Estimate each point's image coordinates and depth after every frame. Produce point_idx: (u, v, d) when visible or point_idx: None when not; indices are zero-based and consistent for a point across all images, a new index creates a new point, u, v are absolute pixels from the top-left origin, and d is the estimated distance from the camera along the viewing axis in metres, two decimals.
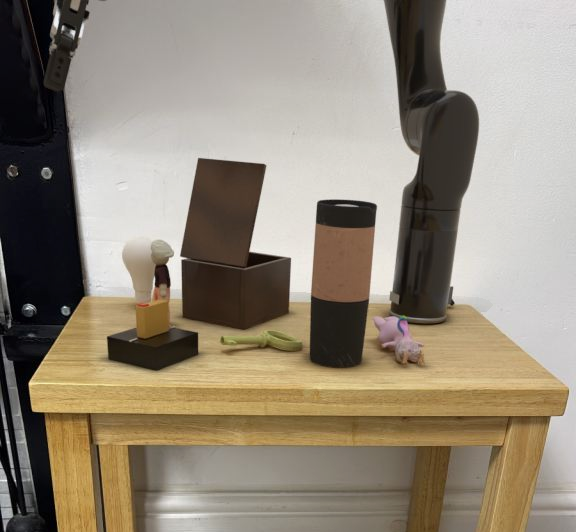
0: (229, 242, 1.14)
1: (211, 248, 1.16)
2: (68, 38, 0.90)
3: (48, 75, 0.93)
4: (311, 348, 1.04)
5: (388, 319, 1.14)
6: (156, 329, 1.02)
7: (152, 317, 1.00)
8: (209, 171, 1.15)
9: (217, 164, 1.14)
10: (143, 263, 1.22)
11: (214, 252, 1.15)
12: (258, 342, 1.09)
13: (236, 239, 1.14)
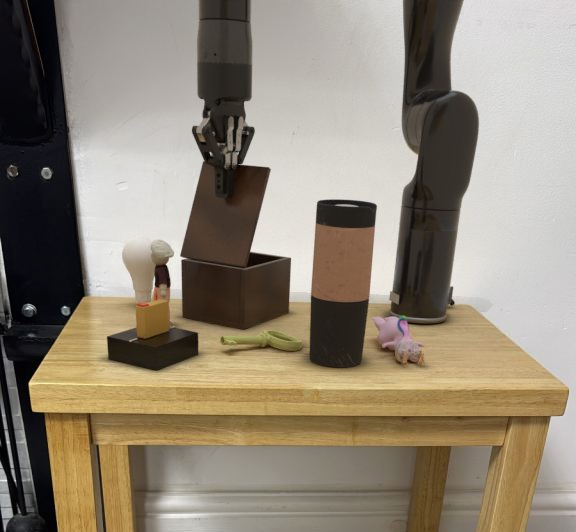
0: (230, 242, 1.14)
1: (212, 248, 1.16)
2: (213, 157, 1.09)
3: None
4: (311, 348, 1.04)
5: (388, 319, 1.14)
6: (156, 329, 1.02)
7: (152, 317, 1.00)
8: (213, 173, 1.16)
9: None
10: (143, 263, 1.22)
11: (215, 252, 1.15)
12: (258, 342, 1.09)
13: (237, 240, 1.14)
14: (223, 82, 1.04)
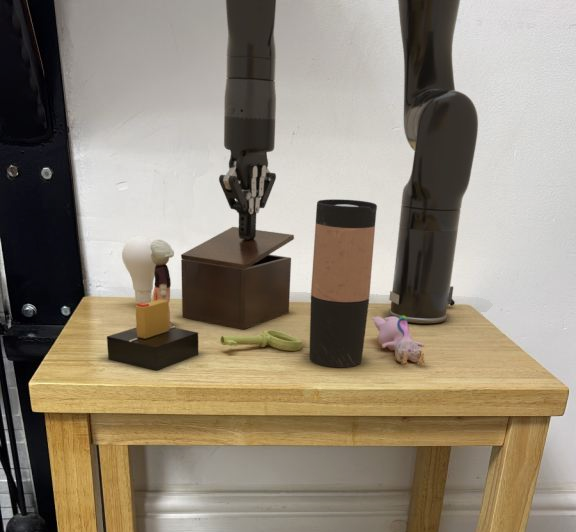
0: (237, 255, 1.17)
1: (217, 255, 1.17)
2: (237, 203, 1.17)
3: None
4: (311, 348, 1.04)
5: (388, 319, 1.14)
6: (156, 329, 1.02)
7: (152, 317, 1.00)
8: None
9: None
10: (143, 263, 1.22)
11: (219, 256, 1.17)
12: (258, 342, 1.09)
13: (245, 254, 1.17)
14: (249, 135, 1.12)
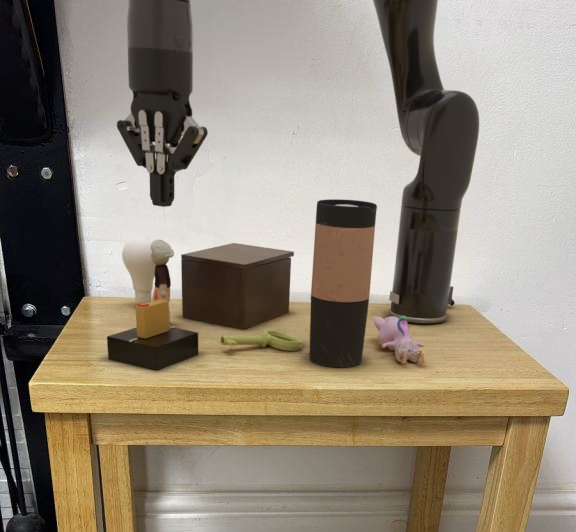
0: (238, 258, 1.17)
1: (217, 257, 1.17)
2: (182, 161, 0.95)
3: (161, 198, 0.97)
4: (311, 348, 1.04)
5: (388, 319, 1.14)
6: (156, 329, 1.02)
7: (152, 317, 1.00)
8: (240, 245, 1.27)
9: (250, 246, 1.27)
10: (143, 263, 1.22)
11: (219, 258, 1.17)
12: (258, 342, 1.09)
13: (245, 259, 1.17)
14: (192, 75, 0.92)
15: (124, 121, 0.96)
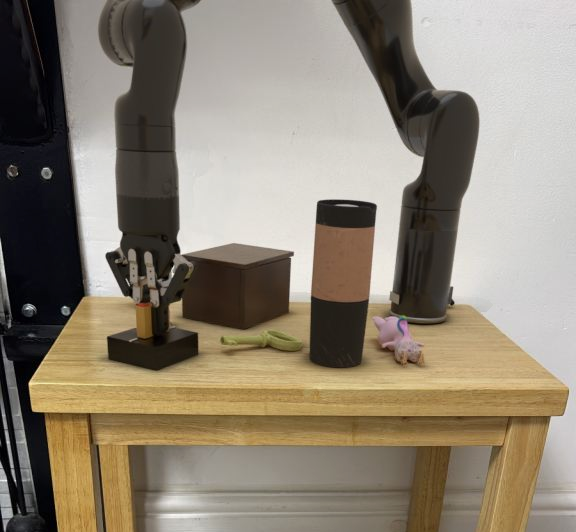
0: (238, 258, 1.17)
1: (217, 257, 1.17)
2: (175, 295, 0.98)
3: (156, 328, 1.00)
4: (311, 348, 1.04)
5: (388, 319, 1.14)
6: None
7: None
8: (240, 245, 1.27)
9: (250, 246, 1.27)
10: None
11: (219, 258, 1.17)
12: (258, 342, 1.09)
13: (245, 259, 1.17)
14: (179, 215, 0.96)
15: (112, 253, 0.99)
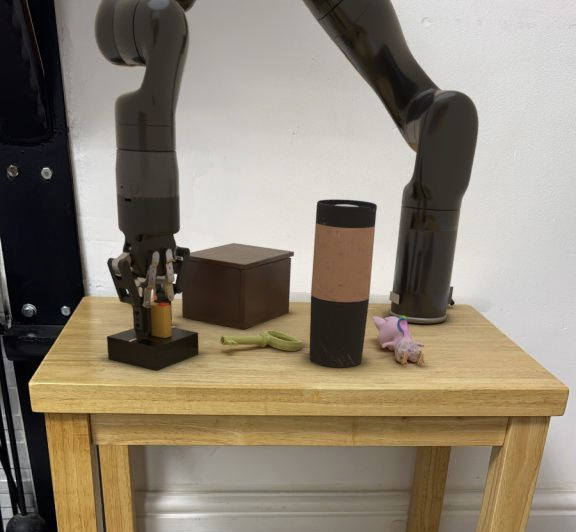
0: (238, 258, 1.17)
1: (217, 257, 1.17)
2: (173, 284, 1.03)
3: None
4: (311, 348, 1.04)
5: (388, 319, 1.14)
6: None
7: None
8: (240, 245, 1.27)
9: (250, 246, 1.27)
10: None
11: (219, 258, 1.17)
12: (258, 342, 1.09)
13: (245, 259, 1.17)
14: None
15: (126, 261, 0.93)
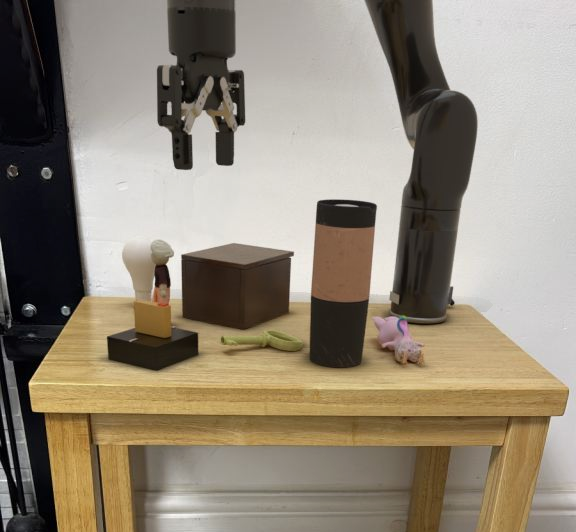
0: (238, 258, 1.17)
1: (217, 257, 1.17)
2: None
3: None
4: (311, 348, 1.04)
5: (388, 319, 1.14)
6: None
7: None
8: (240, 245, 1.27)
9: (250, 246, 1.27)
10: (143, 263, 1.22)
11: (219, 258, 1.17)
12: (258, 342, 1.09)
13: (245, 259, 1.17)
14: None
15: None
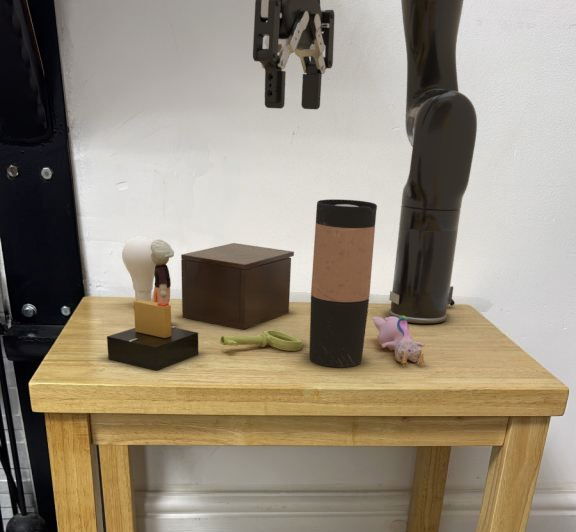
0: (238, 258, 1.17)
1: (217, 257, 1.17)
2: None
3: None
4: (311, 348, 1.04)
5: (388, 319, 1.14)
6: None
7: None
8: (240, 245, 1.27)
9: (250, 246, 1.27)
10: (143, 263, 1.22)
11: (219, 258, 1.17)
12: (258, 342, 1.09)
13: (245, 259, 1.17)
14: None
15: None
